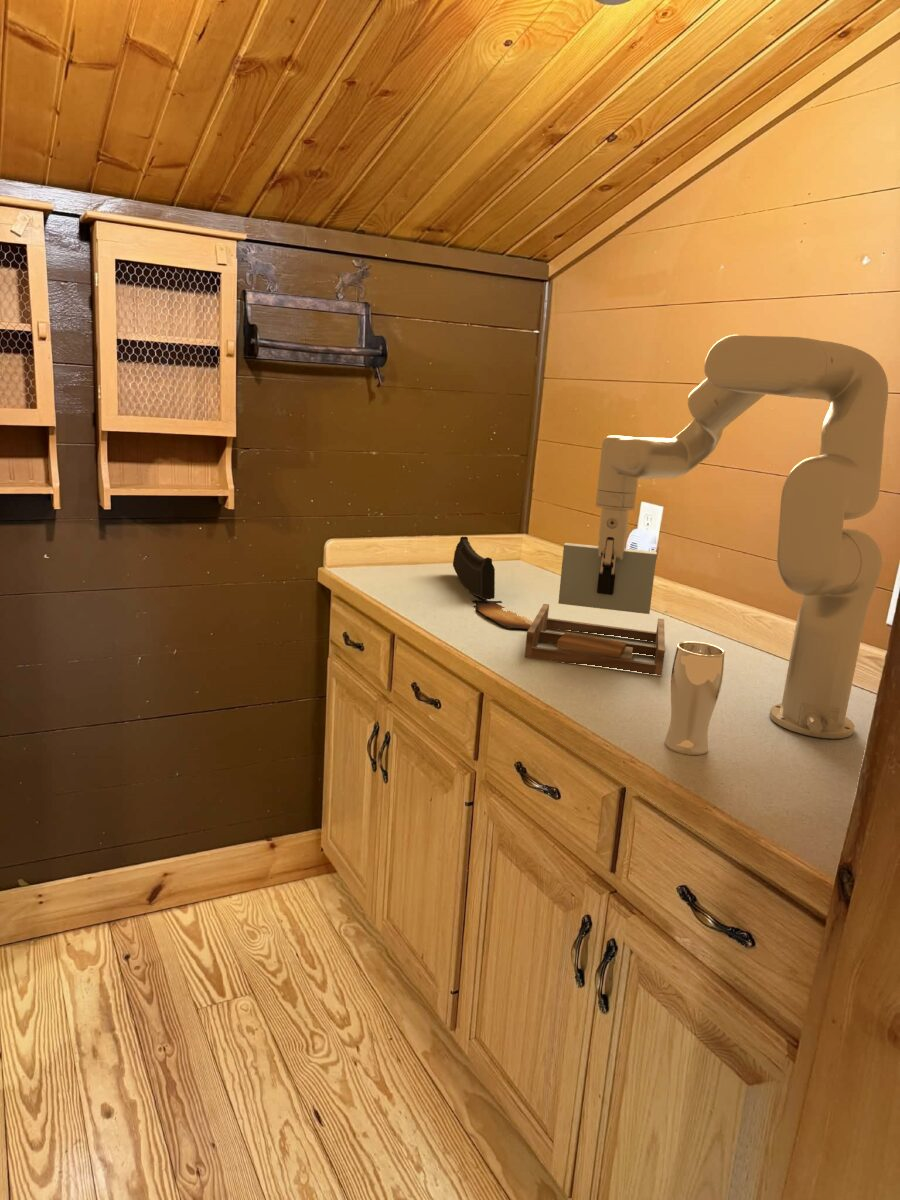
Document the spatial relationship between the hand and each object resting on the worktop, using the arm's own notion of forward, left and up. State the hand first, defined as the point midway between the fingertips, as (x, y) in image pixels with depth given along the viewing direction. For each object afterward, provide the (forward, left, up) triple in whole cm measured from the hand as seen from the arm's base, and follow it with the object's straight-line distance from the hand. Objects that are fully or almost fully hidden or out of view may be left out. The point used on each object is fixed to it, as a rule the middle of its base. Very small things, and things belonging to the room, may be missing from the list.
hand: (605, 591), depth 168 cm
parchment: (+12, +22, -12) cm, 28 cm away
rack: (-4, 0, -11) cm, 12 cm away
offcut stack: (-9, 0, -12) cm, 15 cm away
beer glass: (-48, -16, -11) cm, 52 cm away
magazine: (+35, +34, -11) cm, 50 cm away
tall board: (0, 0, -3) cm, 3 cm away
